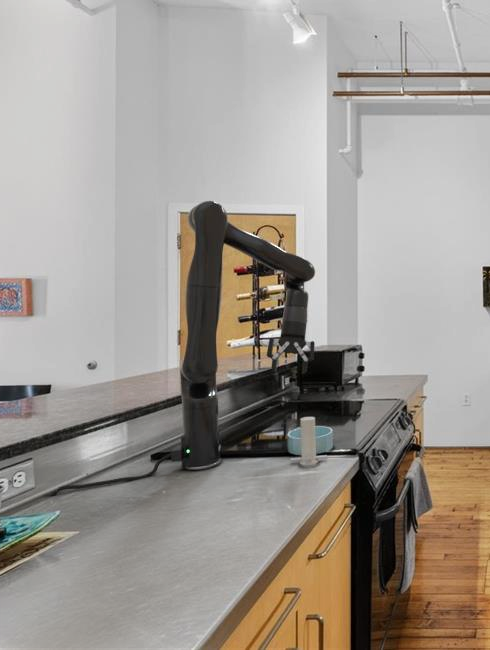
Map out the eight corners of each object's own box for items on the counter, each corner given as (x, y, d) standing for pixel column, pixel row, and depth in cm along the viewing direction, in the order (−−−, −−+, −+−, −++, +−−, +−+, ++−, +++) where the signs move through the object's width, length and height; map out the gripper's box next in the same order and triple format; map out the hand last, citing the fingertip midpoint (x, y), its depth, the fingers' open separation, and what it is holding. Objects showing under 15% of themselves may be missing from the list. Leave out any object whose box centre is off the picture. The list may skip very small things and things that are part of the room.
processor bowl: (285, 458, 138) (285, 440, 138) (290, 444, 151) (289, 427, 151) (333, 454, 141) (332, 436, 141) (333, 441, 154) (332, 424, 154)
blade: (289, 471, 128) (287, 423, 128) (292, 460, 137) (290, 416, 136) (326, 467, 130) (325, 421, 130) (327, 457, 139) (326, 413, 138)
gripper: (269, 318, 145) (263, 370, 142) (317, 322, 148) (311, 373, 145) (272, 321, 152) (266, 372, 149) (317, 325, 155) (312, 374, 152)
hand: (288, 372), depth 147 cm, fingers open, 8 cm apart
